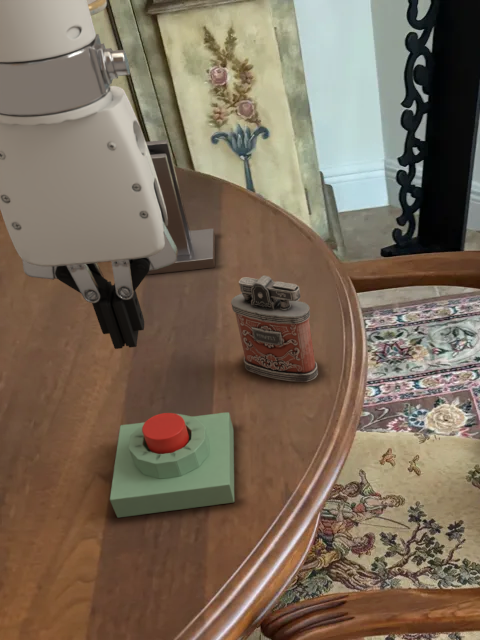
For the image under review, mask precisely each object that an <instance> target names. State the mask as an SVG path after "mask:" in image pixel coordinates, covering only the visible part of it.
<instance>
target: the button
mask: <svg viewBox="0 0 480 640" xmlns="http://www.w3.org/2000/svg"><path fill="white" fill-rule="evenodd" d="M177 414H178V413H174V412H163V413H158V414H154V415H153V416H151V417H150V418H148V419H147V420H146V421H144V422H145V423H144V422H143V423H144V425H143V428H142V432H143V435H144V438H145V441H146V443H147V446H148V448H149V450H150V451H152V452H153V453H157V454H166V453H173V452H175V451H177V450H179V449H181V448H183V447H185V446H186V445H187V443H188V441H189V435H188V431H187V428H186V425H185V421H184V419H183V418H182V417H181V416H179V415H177Z"/></svg>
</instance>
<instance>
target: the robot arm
mask: <svg viewBox="0 0 480 640" xmlns="http://www.w3.org/2000/svg"><path fill="white" fill-rule="evenodd" d="M105 45H106V44H105V43H101V38H100V34H99V33H97V34H96V30H95V26H94V23H93V18H92V16H91V15H90V11H89V7H88V3H87V0H0V213H1V216H2V219H3V222H4V224H5V227H6V231H7V233H8V235H9V238H10V240H11V243H12V245H13V246H14V249H15V251H16V253H17V254H18V256H19V257H20V259H21V261H22V269H23V273H24V274H25V275H26V276H28V277H31V278H37V279H46V280H51V281H52V280H53V281H55V280H58V281H60V282H61V283H63V284H65V285H66V286H68V287H69V288H71V289H73V290H75V291H77V292H78V293H79V294H81V296H82V298H83V299H84V301H85V302H87V303H89V304H92V307H93V310H94V313H95V316H96V319H97V322H98V324H99V327H100V330H101V333H102V334H103V335H109V337H110V340H111V342H112V346H113V348H114V350H120V349H123V347H125V346H126V347H128V348H137V346H138V340H139V339H138V338H139V332H140V331H144V330H145V317H144V315H143V311H142V309H141V305H140V301H139V298H138V295H137V291H136V290H137V288H138V287H139V286H140V284H141V283H142V282H143V280H144V279H145V278H146V276H148V275H149V274H148V272H149V271H151V270H157V269H160V268H162V267H165V266H168V265H171V264H174V263H175V262H176V261H177V253H178V249H177V247H176V245H175V243H174V241H173V239H172V237H171V235H170V233H169V232H168V230H167V228H166V226H168V217H167V211H166V206H165V202H164V198H163V195H162V191H161V188H160V185H159V181H158V178H157V175H156V172H155V168H154V165H153V162H152V159H151V156H150V153H149V150H148V147H147V144H146V142H147V140H146V138H145V135H144V133H143V130H142V127H141V125H140V122H139V120H138V117H137V115H136V113H135V111H134V108H133V106H132V103H131V101H130V99H129V97H128V95H127V94H126V91H125V89H123V88H122V87H120V86H118V85H112V83H113V80H115V79H116V80H117V79H119V77H126V76H130V74H131V70H130V63H129V59H128V56H127V52H126V50H125V49H119V50H118V49H117V50H113V48H112V47H110V48H106V46H105ZM109 262H110V263H111V268H112V274H113V280H114V281H113V282H114V283H113V284H112V281H110V280H109V281H108V279H106V278H105V276H104V273H103V272H102V270H101V268H100V265H99V263H109ZM147 274H148V275H147Z"/></svg>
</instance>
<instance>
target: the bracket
mask: <svg viewBox="0 0 480 640" xmlns="http://www.w3.org/2000/svg"><path fill="white" fill-rule="evenodd" d="M146 144H147V147H148V150H149V151H150V152H155V153H160V154H155V155H150V156H151V159H152V162H153V165H154V168H155V172H156V175H157V178H158V181H159V185H160V188H161V191H162V195H163V198H164V202H165V206H166V211H167V217H168V226H166V228H167V230H168V232H169V233H170V235H171V237H172V239H173V241H174V243H175V245H176V247H177V249H178V253H177V261H176V262H175V263H174V264H171V265H168V266H165V267H162V268H160V269H157V270H151V271H149V272H148V274H147V275H146V276H149V275H156V274H157V275H158V274H166V273H177V272H184V271H194V270H203V269H210V268H211V269H212V268H213V269H214V268H216V233H215V229H214V228H204V229H195V230H190V226H189V222H188V218H187V214H186V210H185V204H184V200H183V196H182V193H181V188H180V185H179V180H178V177H177V173H176V168H175V164H174V160H173V156H172V152H171V151H172V150H171V148H170V144H169V139H162V140H152V141H151V140H150V141H146Z"/></svg>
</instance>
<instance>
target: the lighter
mask: <svg viewBox="0 0 480 640" xmlns="http://www.w3.org/2000/svg"><path fill="white" fill-rule="evenodd" d="M238 284H239V285H238V286H239V290H240V292H241V293H239V294H237V295H235V296H234V297H233V298H232V299H231V302H230V303H231V308H232V311H233V313H235V317H236V322H237V326H238V331H239V336H240V340H241V345H242V350H243V355H244V357H243V364H244V368H245V369H246V371H248V372H251V373H253V374H256V375H259V376H263V377H266V378H271V379H274V380H279V381H280V380H281V381H288V382H301V383H306V382H307V383H308V382H312V381H313V380H314V379H316V378H317V376H318V375H319V370H318V363H317V362H316V360H315V354H314V347H313V341H312V340H313V339H312V333H311V325H310V317H311V311H310V305H308V303H306V302H305V301H301V300H300V299H301V291H300V286H299V285H297V284H296V283H289V282H284V281H279V280H278V281H274V280H273V279H272V278H271V277H270V276H269V275H266V274H265V275H262V276H260V277H259V278H255V277H247V276H245V277H241V278H240V279H239V280H238Z"/></svg>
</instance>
